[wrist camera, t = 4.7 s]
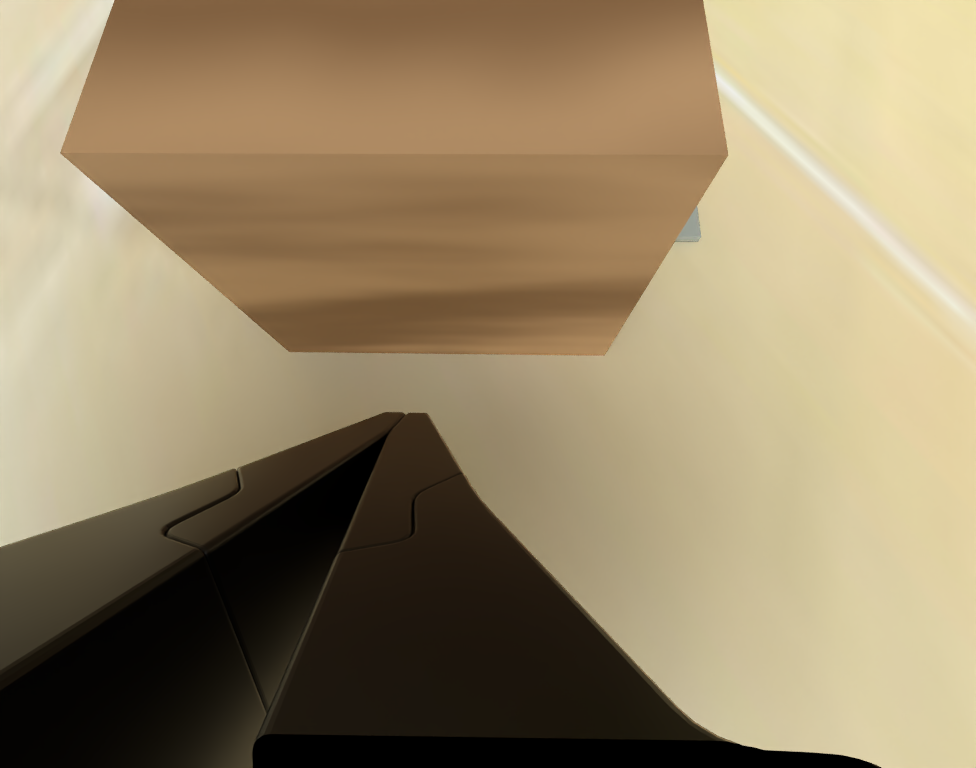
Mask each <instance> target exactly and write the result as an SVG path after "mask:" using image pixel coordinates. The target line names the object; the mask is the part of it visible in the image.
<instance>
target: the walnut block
mask: <svg viewBox="0 0 976 768" xmlns="http://www.w3.org/2000/svg"><path fill="white" fill-rule="evenodd" d="M60 153H61V154H62V155H63V156H64V157H65V158H67V159H68V160H69V161H70V162H71V163H72V164H73V165H75V166H76V167H77V168H78V169H79V170H80V171H82V172H83V173H84V174H85V175H86V176H87V177H88V178H90V179H91V180H92V181H93V182H94V183H95V184H97V185H98V186H99V187H100V188H101V189H102V190H103V191H105V192H106V193H107V194H108V195H109V196H110V197H111V198H113V199H114V200H115V201H116V202H117V203H118V204H120V205H121V206H122V207H123V208H124V209H125V210H126V211H128V212H129V213H130V214H131V215H132V216H133V217H135V218H136V219H137V220H138V221H139V222H140V223H141V224H143V225H144V226H145V227H146V228H147V229H148V230H150V231H151V232H152V233H153V234H154V235H155V236H156V237H158V238H159V239H160V240H161V241H162V242H163V243H165V244H166V245H167V246H168V247H169V248H170V249H171V250H173V251H174V252H175V253H176V254H177V255H178V256H179V257H181V258H182V259H183V260H184V261H185V262H186V263H188V264H189V265H190V266H191V267H192V268H193V269H194V270H196V271H197V272H198V273H199V274H200V275H201V276H203V277H204V278H205V279H206V280H207V281H208V282H209V283H211V284H212V285H213V286H214V287H215V288H216V289H218V290H219V291H220V292H221V293H222V294H223V295H224V296H226V297H227V298H228V299H229V300H230V301H231V302H233V303H234V304H235V305H236V306H237V307H238V308H239V309H241V310H242V311H243V312H244V313H245V314H246V315H248V316H249V317H250V318H251V319H252V320H253V321H254V322H256V323H257V324H258V325H259V326H260V327H261V328H262V329H264V330H265V331H266V332H267V333H268V334H269V335H271V336H272V337H273V338H274V339H275V340H276V341H277V342H279V343H280V344H281V345H282V346H283V347H284V348H286V349H287V350H288V351H289V352H348V353H434V354H520V355H605V354H606V352H607V350H608V349H609V347H610V346H611V344H612V342H613V341H614V339H615V337H616V336H617V334H618V333H619V331H620V329H621V328H622V326H623V324H624V323H625V321H626V320H627V318H628V316H629V315H630V313H631V312H632V310H633V308H634V307H635V305H636V303H637V302H638V300H639V299H640V297H641V295H642V294H643V292H644V290H645V289H646V287H647V286H648V284H649V282H650V281H651V279H652V278H653V276H654V274H655V273H656V271H657V269H658V268H659V266H660V265H661V263H662V261H663V260H664V258H665V256H666V255H667V253H668V252H669V250H670V248H671V247H672V245H673V244H674V242H675V240H676V239H677V237H678V235H679V234H680V232H681V231H682V229H683V227H684V226H685V224H686V222H687V221H688V219H689V218H690V216H691V214H692V213H693V211H694V210H695V208H696V206H697V205H698V203H699V201H700V200H701V198H702V197H703V195H704V193H705V192H706V190H707V188H708V187H709V185H710V184H711V182H712V180H713V179H714V177H715V176H716V174H717V172H718V171H719V169H720V167H721V166H722V164H723V163H724V161H725V159H726V158H727V156H728V151H727V144H726V138H725V132H724V126H723V120H722V114H721V108H720V102H719V96H718V90H717V83H716V77H715V71H714V65H713V59H712V53H711V47H710V41H709V35H708V28H707V22H706V16H705V10H704V4H703V0H115V1H114V3H113V6H112V9H111V12H110V15H109V17H108V20H107V23H106V26H105V29H104V32H103V34H102V37H101V40H100V43H99V46H98V48H97V51H96V54H95V57H94V60H93V62H92V65H91V68H90V71H89V74H88V76H87V79H86V82H85V85H84V88H83V91H82V93H81V96H80V99H79V102H78V105H77V107H76V110H75V113H74V116H73V119H72V121H71V124H70V127H69V130H68V133H67V136H66V138H65V141H64V144H63V147H62V150H61V152H60Z"/></svg>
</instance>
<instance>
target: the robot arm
mask: <svg viewBox="0 0 976 768" xmlns="http://www.w3.org/2000/svg"><path fill="white" fill-rule="evenodd" d="M0 768H881V767H879V766H877V765H874V764H872V763H869V762H866V761H863V760H860V759H857V758H852V757H848V756H843V755H835V754H823V753H809V752H790V751H768V750H761V749H757V748H754V747H747V746H742V745H740V744H738V743H735V742H732V741H730V740H727V739H724V738H722V737H719V736H717V735H715V734H714V733H712V732H710V731H709V730H707V729H705V728H704V727H702V726H700V725H699V724H697V723H695V722H694V721H693V720H692V719H691V718H690V717H689V716H687V715H686V714H685V713H684V712H683V711H682V710H680V709H679V708H678V707H677V706H676V705H675V704H674V703H673V702H672V701H671V699H670V698H669V697H668V696H667V695H666V694H665V693H664V692H663V691H662V690H661V689H660V688H659V687H658V686H657V685H656V684H655V683H654V682H653V681H652V680H651V678H650V677H649V676H648V675H647V674H646V673H645V672H644V671H643V670H642V669H641V668H640V667H639V666H638V665H637V664H636V663H635V662H634V661H633V660H632V659H631V657H630V656H629V655H628V654H627V653H626V652H625V651H624V650H623V649H622V648H621V647H620V646H619V645H618V644H617V643H616V642H615V641H614V640H613V639H612V638H611V636H610V635H609V634H608V633H607V632H606V631H605V630H604V629H603V628H602V627H601V626H600V625H599V624H598V623H597V622H596V621H595V620H594V619H593V618H592V617H591V615H590V614H589V613H588V612H587V611H586V610H585V609H584V608H583V607H582V606H581V605H580V604H579V603H578V602H577V601H576V600H575V599H574V598H573V597H572V596H571V594H570V593H569V592H568V591H567V590H566V589H565V588H564V587H563V586H562V585H561V584H560V583H559V582H558V581H557V580H556V579H555V578H554V577H553V576H552V575H551V573H550V572H549V571H548V570H547V569H546V568H545V567H544V566H543V565H542V564H541V563H540V562H539V561H538V560H537V559H536V558H535V557H534V556H533V555H532V554H531V552H530V551H529V550H528V549H527V548H526V547H525V546H524V545H523V544H522V543H521V542H520V541H519V540H518V539H517V538H516V537H515V536H514V535H513V534H512V533H511V531H510V530H509V529H508V528H507V527H506V526H505V525H504V524H503V523H502V522H501V521H500V520H499V519H498V518H497V517H496V516H495V515H494V513H493V512H492V511H491V510H490V509H489V508H488V507H487V506H486V504H485V503H484V502H483V501H482V500H481V498H480V497H479V496H478V494H477V493H476V491H475V490H474V488H473V487H472V486H471V484H470V482H469V481H468V479H467V477H466V476H465V475H464V473H463V472H462V470H461V468H460V467H459V465H458V463H457V462H456V460H455V458H454V457H453V455H452V453H451V452H450V450H449V448H448V447H447V445H446V443H445V441H444V440H443V438H442V436H441V435H440V433H439V431H438V430H437V428H436V426H435V425H434V423H433V421H432V420H431V418H430V416H429V415H428V414H427V413H407V414H404V413H402V412H385V413H382V414H379V415H377V416H374V417H371V418H369V419H366V420H363V421H361V422H358V423H355V424H353V425H350V426H347V427H345V428H342V429H340V430H337V431H334V432H332V433H329V434H326V435H324V436H321V437H318V438H316V439H313V440H310V441H308V442H305V443H302V444H300V445H297V446H294V447H292V448H289V449H287V450H284V451H281V452H279V453H276V454H273V455H271V456H268V457H265V458H263V459H260V460H257V461H255V462H252V463H249V464H247V465H244V466H241V467H239V468H238V469H237V471H236V469H231V470H228V471H226V472H223V473H220V474H218V475H215V476H212V477H210V478H207V479H204V480H201V481H199V482H196V483H193V484H190V485H187V486H185V487H182V488H179V489H176V490H173V491H170V492H167V493H164V494H161V495H158V496H155V497H153V498H150V499H147V500H144V501H141V502H138V503H135V504H132V505H129V506H126V507H122V508H119V509H116V510H113V511H110V512H107V513H104V514H101V515H98V516H95V517H92V518H89V519H86V520H82V521H79V522H76V523H73V524H70V525H67V526H64V527H61V528H58V529H55V530H52V531H49V532H45V533H42V534H39V535H36V536H33V537H30V538H27V539H24V540H21V541H18V542H15V543H12V544H8V545H5V546H2V547H0Z"/></svg>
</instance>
